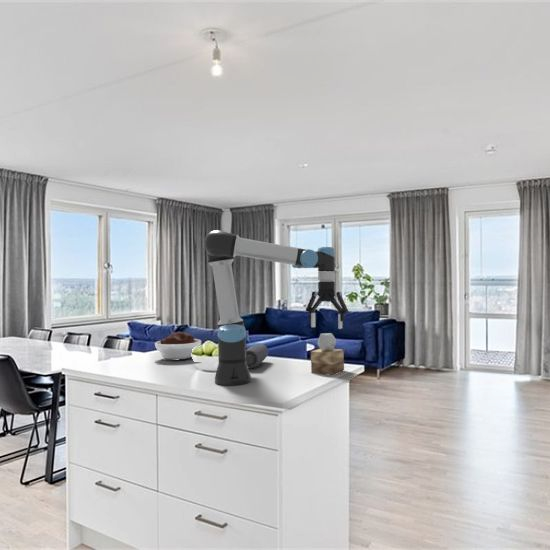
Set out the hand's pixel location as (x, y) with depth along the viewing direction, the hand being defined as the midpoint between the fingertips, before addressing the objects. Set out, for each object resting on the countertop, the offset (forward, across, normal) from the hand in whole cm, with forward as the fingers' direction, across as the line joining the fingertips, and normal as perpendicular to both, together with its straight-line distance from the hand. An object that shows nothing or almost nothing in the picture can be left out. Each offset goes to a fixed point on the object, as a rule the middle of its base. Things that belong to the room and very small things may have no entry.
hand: (326, 327), depth 221 cm
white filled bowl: (+22, +88, +2) cm, 91 cm away
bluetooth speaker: (+21, +38, +2) cm, 44 cm away
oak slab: (+15, 0, 0) cm, 15 cm away
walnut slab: (+20, 0, 0) cm, 20 cm away
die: (+10, 0, 0) cm, 11 cm away
